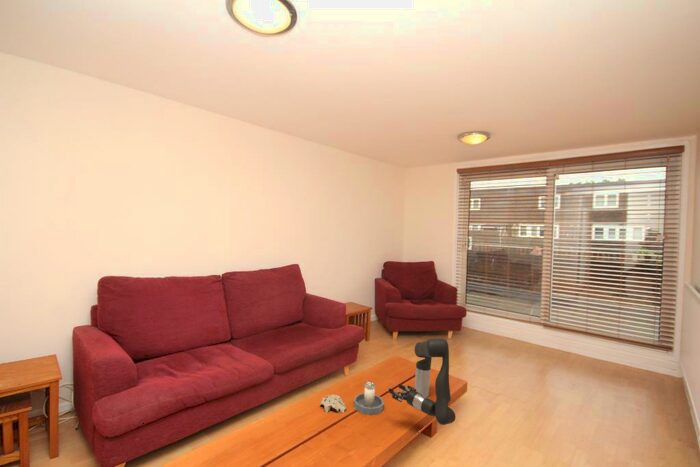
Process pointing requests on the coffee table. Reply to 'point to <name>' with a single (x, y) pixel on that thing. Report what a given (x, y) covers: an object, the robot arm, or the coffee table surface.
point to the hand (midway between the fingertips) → (394, 387)
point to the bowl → (365, 410)
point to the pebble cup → (369, 394)
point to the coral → (333, 403)
